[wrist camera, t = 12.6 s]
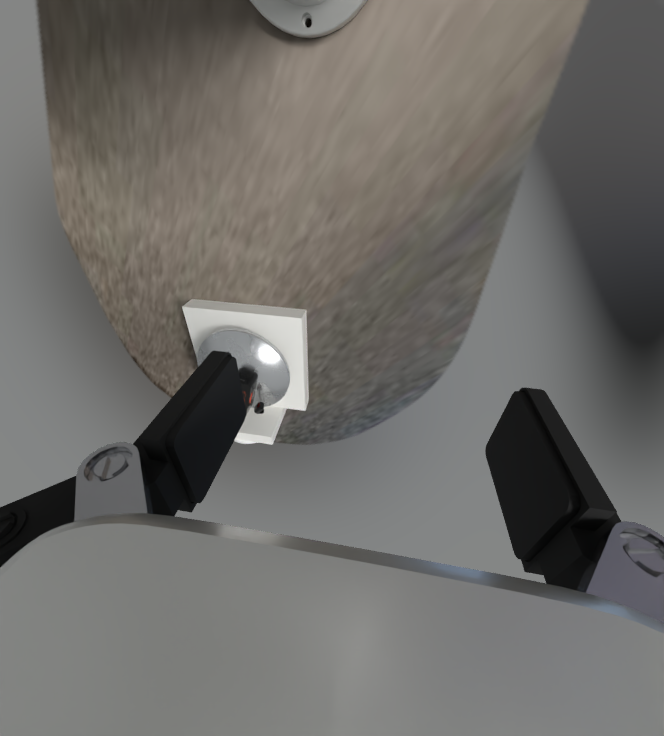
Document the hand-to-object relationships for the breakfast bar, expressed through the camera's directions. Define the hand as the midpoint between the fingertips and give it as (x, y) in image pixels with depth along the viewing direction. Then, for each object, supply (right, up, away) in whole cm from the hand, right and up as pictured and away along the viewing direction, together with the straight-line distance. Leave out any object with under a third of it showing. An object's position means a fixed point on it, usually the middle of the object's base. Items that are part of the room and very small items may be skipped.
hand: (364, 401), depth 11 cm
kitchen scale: (-13, +2, +36) cm, 38 cm away
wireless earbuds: (-13, -2, +34) cm, 36 cm away
